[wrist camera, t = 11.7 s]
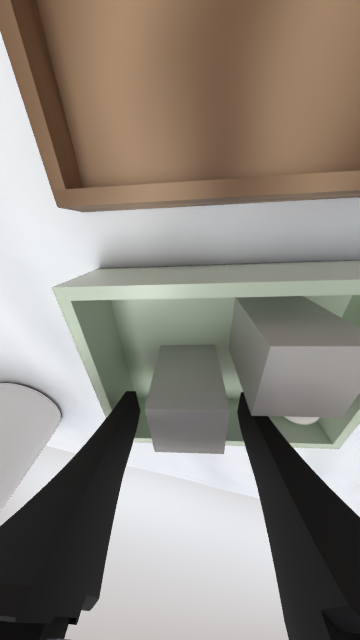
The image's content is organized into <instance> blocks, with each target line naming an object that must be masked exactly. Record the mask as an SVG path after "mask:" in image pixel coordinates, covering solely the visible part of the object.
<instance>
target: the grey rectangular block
mask: <svg viewBox="0 0 360 640" xmlns="http://www.w3.org/2000/svg"><path fill="white" fill-rule="evenodd" d="M229 351H230V354H231V357H232V360H233V363H234V366H235V369H236V372H237V375H238V378H239V381H240V384H241V387H242V390H243V393H244V395H245V398H246V401H247V404H248V407H249V410H250V413H251V416H288V417H329V418H342V417H343V416H344V414H345V413H346V411H347V410H348V409H349V407H350V406H351V404H352V403H353V402H354V400H355V399H356V397H357V396H358V394H359V393H360V328H359V327H357V326H355V325H353V324H352V323H350V322H348V321H346V320H345V319H343V318H341V317H339V316H337V315H336V314H334V313H332V312H330V311H329V310H327V309H325V308H323V307H321V306H320V305H318V304H316V303H314V302H313V301H311V300H309V299H307V298H305V297H304V296H277V297H235V302H234V310H233V318H232V326H231V334H230V341H229Z"/></svg>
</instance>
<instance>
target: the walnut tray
mask: <svg viewBox="0 0 360 640" xmlns="http://www.w3.org/2000/svg"><path fill="white" fill-rule="evenodd" d="M0 31H1V34H2V38H3V41H4V44H5V47H6V50H7V53H8V56H9V59H10V62H11V65H12V68H13V72H14V75H15V78H16V81H17V84H18V87H19V90H20V93H21V96H22V99H23V102H24V105H25V109H26V112H27V115H28V118H29V121H30V124H31V127H32V130H33V133H34V136H35V139H36V143H37V146H38V149H39V152H40V155H41V158H42V161H43V164H44V167H45V170H46V173H47V177H48V180H49V183H50V186H51V189H52V192H53V195H54V198H55V201H56V204H57V207H59V208H64V209H69V210H75V211H80V212H95V211H113V210H131V209H150V208H168V207H186V206H204V205H223V204H241V203H259V202H277V201H296V200H314V199H332V198H350V197H360V0H0Z"/></svg>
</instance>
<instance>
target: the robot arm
mask: <svg viewBox="0 0 360 640" xmlns="http://www.w3.org/2000/svg"><path fill="white" fill-rule="evenodd" d="M237 415H238V420H239V425H240V430H241V433H242V437H243V440H244V443H245V447H246V450H247V453H248V456H249V460H250V463H251V466H252V469H253V473H254V476H255V480H256V484H257V487H258V492H259V496H260V501H261V505H262V509H263V514H264V518H265V523H266V528H267V533H268V537H269V542H270V547H271V552H272V557H273V562H274V567H275V572H276V578H277V583H278V588H279V593H280V599H281V604H282V609H283V615H284V621H285V625H286V629H287V633H288V637H289V640H360V517H359V516H358V515H357V514H356V513H355V512H354V511H353V510H352V509H351V508H350V507H349V506H348V505H347V504H345V503H344V502H343V501H342V500H341V499H340V498H339V497H338V496H337V495H336V494H335V493H334V492H333V491H332V490H331V489H330V488H329V487H328V486H327V485H326V484H325V482H324V481H323V480H322V479H321V478H320V477H319V476H318V475H317V474H316V473H315V472H314V471H313V470H312V469H311V468H310V466H309V465H308V464H307V463H306V462H305V461H304V460H303V459H302V458H301V456H300V455H299V454H298V453H297V452H296V451H295V450H294V448H293V447H292V446H291V445H290V444H289V442H288V441H287V440H286V439H285V437H284V436H283V435H282V434H281V433H280V431H279V430H278V429H277V427H276V426H275V425H274V423H273V422H272V421H271V420H270V418H269V417H268V416H251V413H250V410H249V407H248V404H247V401H246V398H245V395H244V393H243V392H241V394H240V399H239V405H238V410H237ZM139 416H140V407H139V403H138V399H137V395H136V391H126V392H125V393H124V395H123V396H122V398H121V399H120V400H119V402H118V403H117V405H116V406H115V407H114V409H113V410H112V411H111V413H110V414H109V415H108V417H107V418H106V419H105V421H104V422H103V423H102V425H101V426H100V427H99V428H98V429H97V431H96V432H95V433H94V434H93V436H92V437H91V438H90V439H89V440H88V442H87V443H86V444H85V445H84V446H83V447H82V448H81V450H80V451H79V452H78V453H77V454H76V455H75V456H74V457H73V458H72V459H71V461H69V463H68V464H67V465H66V466H65V467H64V468H63V469H62V470H61V471H60V472H59V473H58V474H57V475H56V476H55V477H54V478H53V479H52V480H51V481H50V482H49V483H48V484H47V485H46V486H45V487H43V488H42V489H41V490H40V491H39V492H38V493H37V494H36V495H35V496H34V497H33V498H32V499H31V500H29V501H28V502H27V503H26V504H25V505H24V506H23V507H22V508H21V509H20V510H18V511H17V512H16V513H15V514H14V515H13V516H12V517H10V518H9V519H8V520H7V521H6V522H5V523H4V524H3V525H1V526H0V640H67V639H64V637H65V633H66V631H67V627H68V624H74V625H76V624H77V622H78V619H79V616H80V612H81V610H85V611H90V610H91V609H92V608H93V606H94V605H95V604H96V602H97V601H98V599H99V596H100V590H101V583H102V578H103V573H104V567H105V560H106V556H107V550H108V545H109V540H110V535H111V529H112V524H113V519H114V515H115V509H116V504H117V500H118V496H119V491H120V487H121V482H122V478H123V474H124V471H125V467H126V464H127V461H128V457H129V454H130V451H131V447H132V444H133V441H134V437H135V434H136V430H137V426H138V421H139Z"/></svg>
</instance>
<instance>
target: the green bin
mask: <svg viewBox="0 0 360 640" xmlns="http://www.w3.org/2000/svg"><path fill="white" fill-rule="evenodd" d="M52 290H53V292H54V294H55V297H56V299H57V302H58V304H59V306H60V309H61V311H62V314H63V316H64V318H65V321H66V323H67V326H68V328H69V330H70V333H71V335H72V338H73V340H74V342H75V345H76V347H77V350H78V352H79V354H80V357H81V359H82V362H83V364H84V366H85V369H86V371H87V374H88V376H89V378H90V381H91V383H92V386H93V388H94V390H95V393H96V395H97V398H98V400H99V402H100V405H101V407H102V410H103V412H104V414H105V417H106V418H107V417H108V415H109V414H110V413H111V411H112V410H113V409H114V407H115V406H116V405H117V403H118V402H119V400H120V399H121V398H122V396H123V395H124V393H125V392H126V391H136V395H137V399H138V403H139V407H140V416H139V421H138V426H137V430H136V434H135V437H134V441H133V442H139V443H153V442H152V438H151V434H150V430H149V426H148V421H147V417H146V413H145V405H146V401H147V397H148V393H149V389H150V385H151V381H152V377H153V373H154V369H155V365H156V361H157V357H158V353H159V349H160V345H215V347H216V351H217V356H218V360H219V364H220V369H221V373H222V377H223V382H224V386H225V390H226V395H227V399H228V403H229V408H230V414H229V421H228V428H227V435H226V442H225V445H230V446H245V443H244V440H243V437H242V433H241V430H240V425H239V420H238V415H237V410H238V405H239V399H240V394H241V392H243V390H242V387H241V384H240V381H239V378H238V375H237V372H236V369H235V366H234V363H233V360H232V357H231V354H230V351H229V341H230V334H231V326H232V318H233V310H234V302H235V297H277V296H304V297H305V298H307V299H309V300H311V301H313V302H314V303H316V304H318V305H320V306H321V307H323V308H325V309H327V310H329V311H330V312H332V313H334V314H336V315H337V316H339V317H341V318H343V319H345V320H346V321H348V322H350V323H352V324H353V325H355V326H357V327H359V328H360V260H349V261H318V262H288V263H258V264H227V265H197V266H166V267H136V268H106V269H96V270H94V271H91V272H89V273H87V274H84V275H82V276H79V277H77V278H74V279H72V280H69V281H67V282H64V283H62V284H59V285H57V286H54V287H52ZM268 417H269V418H270V420H271V421H272V422H273V423H274V425H275V426H276V427H277V429H278V430H279V431H280V433H281V434H282V435H283V436H284V437H285V439H286V440H287V441H288V442H289V444H290V445H291V446H292V447H293V448H321V449H339V448H340V447H341V446H342V444H343V443H344V442H345V441H346V439H347V438H348V437H349V436H350V434H351V433H352V432H353V431H354V429H355V428H356V427H357V426H358V425H359V423H360V393H359V394H358V396H357V397H356V399H355V400H354V402H353V403H352V404H351V406H350V407H349V409H348V410H347V411H346V413H345V414H344V416H343V417H342V418H329V417H320V418H319V419H318V420H317V421H316V422H314V423H312V424H307V425H302V424H297V423H294V422H291V421H289V420H288V419H286V418H285V417H284V416H268Z"/></svg>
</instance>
